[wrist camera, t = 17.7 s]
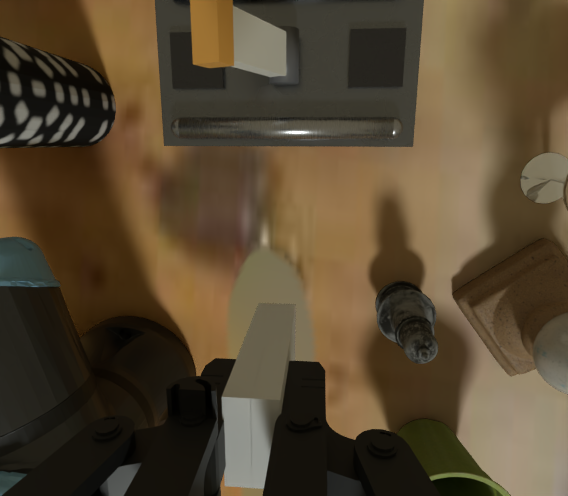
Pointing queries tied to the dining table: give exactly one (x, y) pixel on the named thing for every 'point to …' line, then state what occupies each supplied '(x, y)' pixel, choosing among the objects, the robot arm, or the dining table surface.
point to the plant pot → (448, 460)
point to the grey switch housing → (312, 78)
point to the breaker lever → (243, 42)
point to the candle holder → (523, 312)
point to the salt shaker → (408, 320)
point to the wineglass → (546, 178)
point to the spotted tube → (50, 100)
